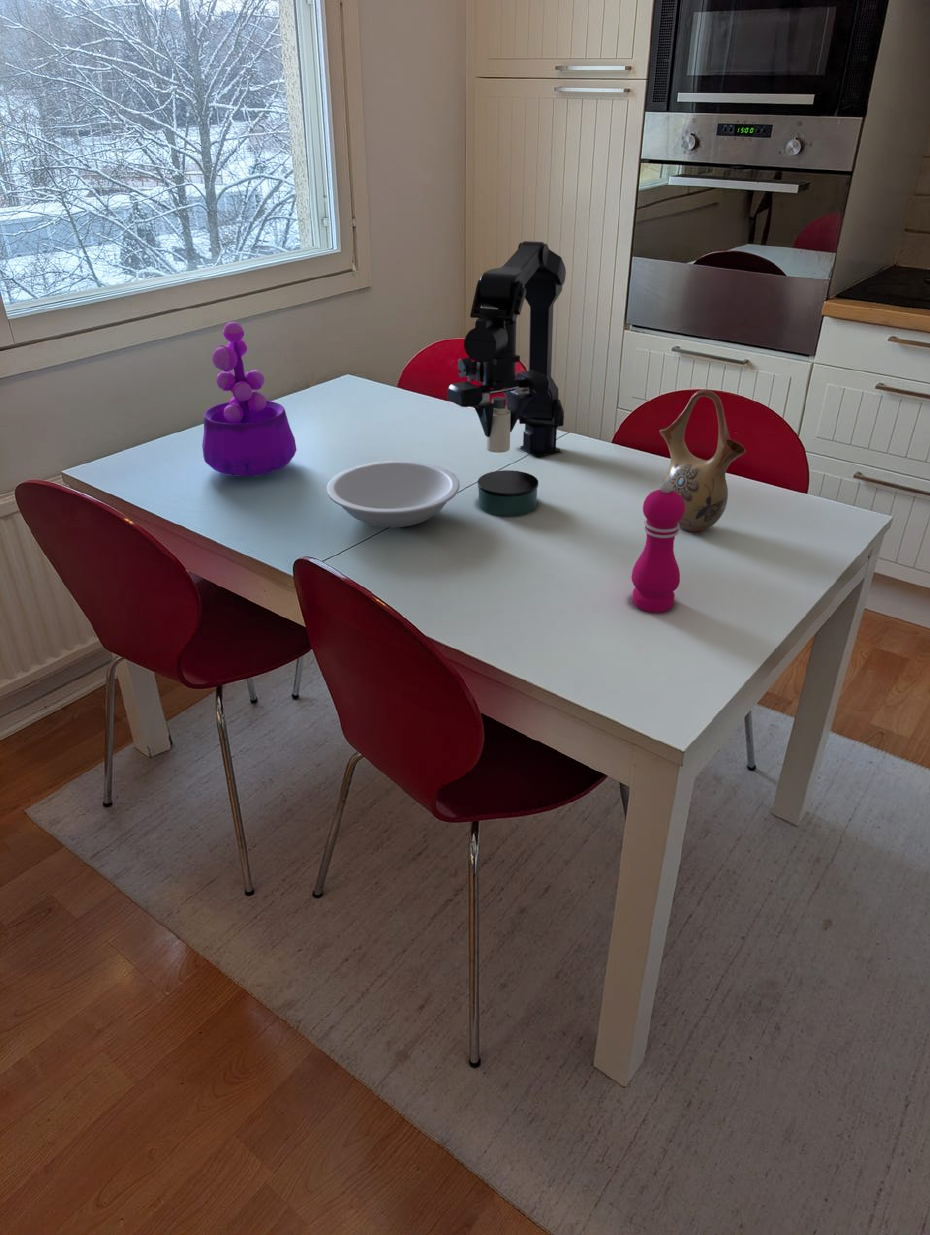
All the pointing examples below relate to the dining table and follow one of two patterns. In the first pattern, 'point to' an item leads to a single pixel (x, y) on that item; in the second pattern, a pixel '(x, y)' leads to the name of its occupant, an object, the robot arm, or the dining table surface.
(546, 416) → the robot arm
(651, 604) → the pepper mill
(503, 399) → the bottle
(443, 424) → the dining table surface
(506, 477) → the enamel tin
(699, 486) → the ceramic vessel
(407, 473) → the soup bowl
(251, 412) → the decorative plant
